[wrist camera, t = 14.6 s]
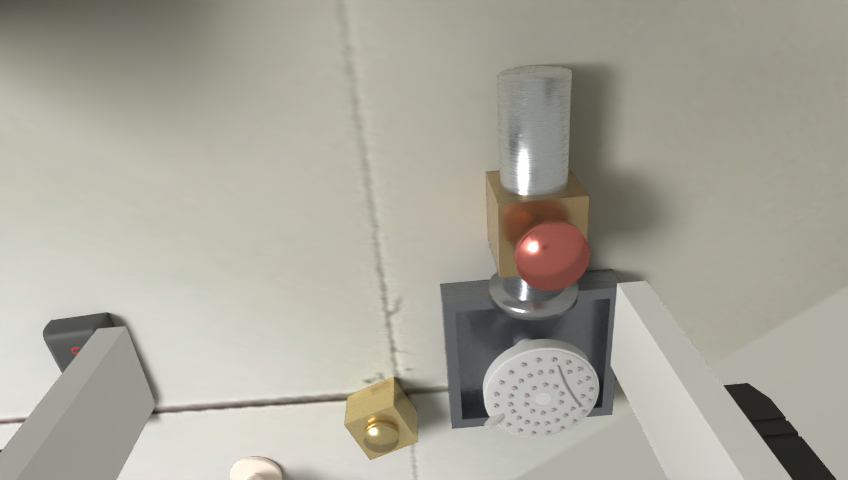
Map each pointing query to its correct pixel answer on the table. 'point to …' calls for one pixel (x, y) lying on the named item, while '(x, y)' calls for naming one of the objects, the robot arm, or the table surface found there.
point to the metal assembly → (530, 252)
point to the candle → (255, 469)
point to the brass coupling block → (381, 418)
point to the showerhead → (539, 388)
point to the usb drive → (72, 335)
